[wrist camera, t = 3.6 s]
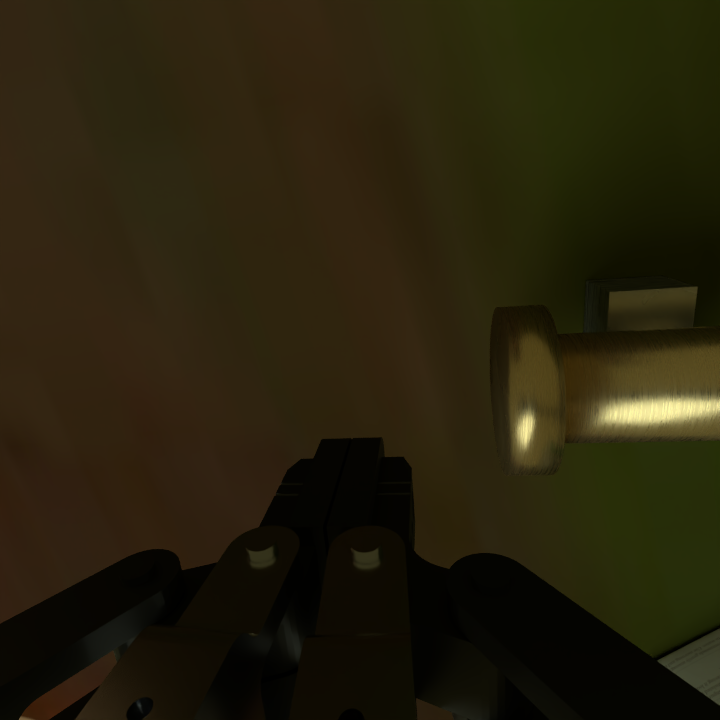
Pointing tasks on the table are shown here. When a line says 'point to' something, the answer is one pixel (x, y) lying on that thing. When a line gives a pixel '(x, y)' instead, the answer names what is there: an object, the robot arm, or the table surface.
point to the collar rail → (638, 304)
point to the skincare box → (698, 664)
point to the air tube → (596, 387)
